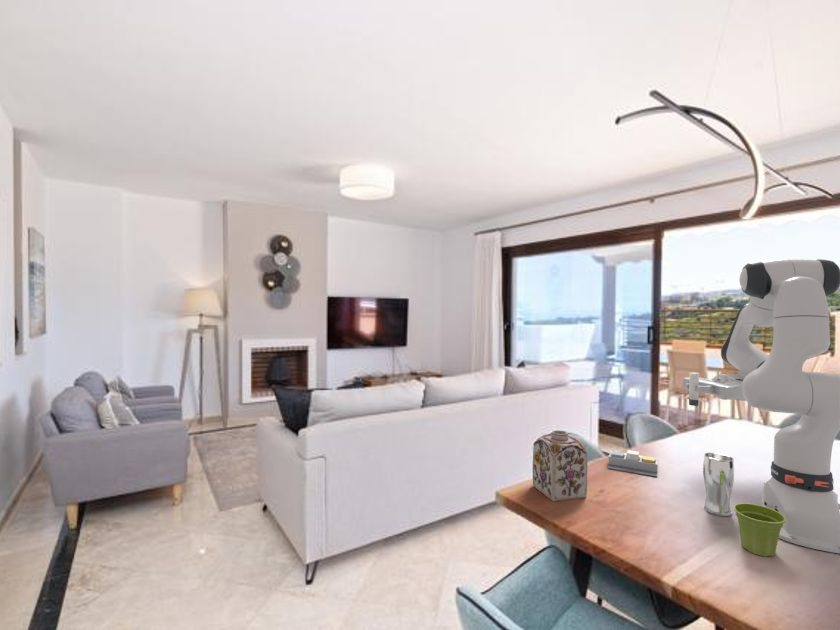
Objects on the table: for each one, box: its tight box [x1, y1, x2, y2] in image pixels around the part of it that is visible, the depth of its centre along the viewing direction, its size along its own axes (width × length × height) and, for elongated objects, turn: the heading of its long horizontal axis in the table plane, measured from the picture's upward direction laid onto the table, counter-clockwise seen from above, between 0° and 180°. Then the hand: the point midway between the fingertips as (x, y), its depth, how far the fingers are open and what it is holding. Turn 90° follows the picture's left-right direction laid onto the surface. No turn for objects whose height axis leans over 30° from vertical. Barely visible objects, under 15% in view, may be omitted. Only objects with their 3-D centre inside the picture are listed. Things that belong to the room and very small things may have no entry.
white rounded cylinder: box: [688, 372, 700, 407], centre depth 149 cm, size 3×3×11 cm
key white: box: [626, 449, 640, 461], centre depth 150 cm, size 4×4×3 cm
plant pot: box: [733, 502, 786, 557], centre depth 99 cm, size 9×9×9 cm
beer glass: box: [702, 452, 735, 517], centre depth 117 cm, size 7×7×15 cm
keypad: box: [607, 451, 659, 478], centre depth 150 cm, size 13×15×3 cm
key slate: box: [611, 450, 625, 459], centre depth 152 cm, size 4×4×3 cm
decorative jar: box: [532, 429, 589, 502], centre depth 129 cm, size 12×12×18 cm
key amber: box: [642, 455, 656, 464], centre depth 148 cm, size 4×4×3 cm
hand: (691, 387), depth 149 cm, fingers closed on white rounded cylinder, 3 cm apart
